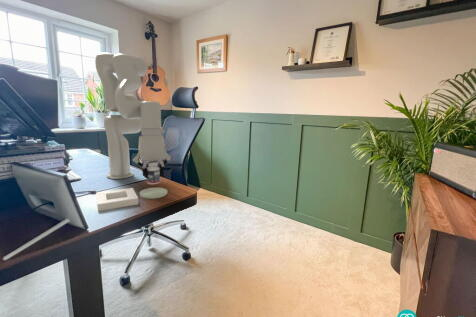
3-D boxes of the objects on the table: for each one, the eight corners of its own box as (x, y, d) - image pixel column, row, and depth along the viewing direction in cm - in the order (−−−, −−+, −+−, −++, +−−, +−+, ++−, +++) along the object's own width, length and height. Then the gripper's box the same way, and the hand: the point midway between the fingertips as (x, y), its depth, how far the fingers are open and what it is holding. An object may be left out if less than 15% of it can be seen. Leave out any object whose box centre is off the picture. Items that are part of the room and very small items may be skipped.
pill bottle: (144, 183, 95) (143, 162, 93) (154, 180, 99) (153, 160, 98) (152, 185, 92) (151, 163, 91) (162, 182, 97) (162, 161, 95)
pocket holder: (96, 198, 90) (96, 192, 89) (132, 193, 97) (132, 187, 96) (98, 211, 79) (97, 204, 79) (138, 204, 86) (138, 198, 86)
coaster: (137, 192, 99) (137, 189, 98) (163, 188, 104) (163, 186, 104) (142, 200, 90) (142, 198, 89) (170, 196, 95) (170, 193, 95)
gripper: (170, 131, 100) (171, 172, 103) (126, 132, 90) (129, 176, 94) (175, 133, 93) (176, 176, 97) (129, 134, 84) (132, 181, 88)
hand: (153, 176), depth 95 cm, fingers closed on pill bottle, 5 cm apart
